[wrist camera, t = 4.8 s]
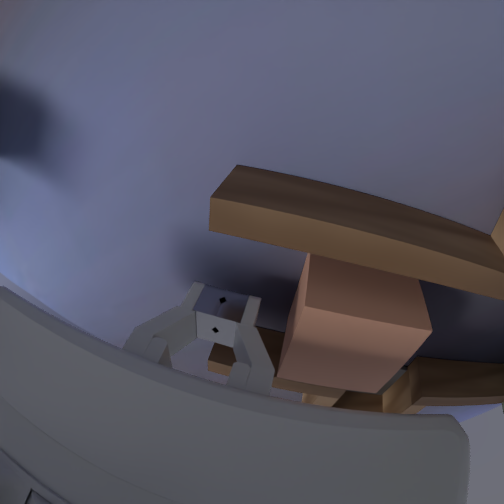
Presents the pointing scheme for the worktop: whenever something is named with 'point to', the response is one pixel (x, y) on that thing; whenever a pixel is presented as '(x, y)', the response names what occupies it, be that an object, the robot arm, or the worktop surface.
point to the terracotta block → (352, 325)
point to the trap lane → (370, 255)
